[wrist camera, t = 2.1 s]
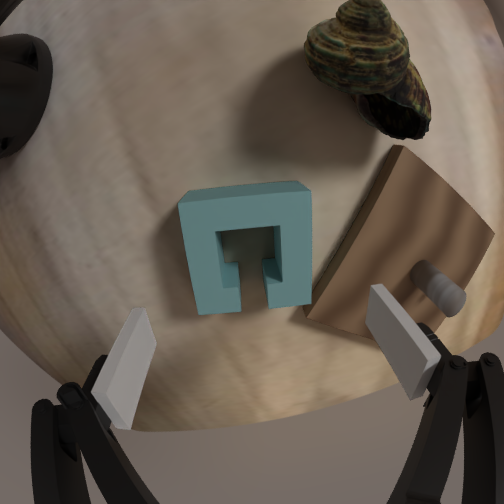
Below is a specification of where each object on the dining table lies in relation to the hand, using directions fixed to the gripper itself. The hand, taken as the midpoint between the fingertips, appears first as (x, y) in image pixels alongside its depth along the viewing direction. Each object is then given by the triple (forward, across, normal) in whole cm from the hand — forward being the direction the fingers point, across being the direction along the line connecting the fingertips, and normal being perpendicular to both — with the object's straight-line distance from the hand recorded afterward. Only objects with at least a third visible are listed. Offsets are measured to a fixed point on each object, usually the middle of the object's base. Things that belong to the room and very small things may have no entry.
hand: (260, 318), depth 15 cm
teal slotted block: (+13, 0, 0) cm, 13 cm away
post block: (+13, +19, -5) cm, 23 cm away
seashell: (+13, +10, +15) cm, 22 cm away
